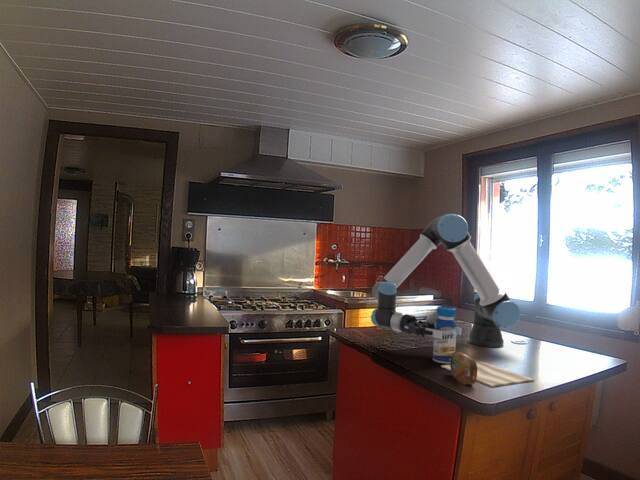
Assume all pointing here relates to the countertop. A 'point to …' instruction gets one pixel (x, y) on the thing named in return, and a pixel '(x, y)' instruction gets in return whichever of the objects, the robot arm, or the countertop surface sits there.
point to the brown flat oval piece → (463, 368)
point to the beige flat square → (495, 375)
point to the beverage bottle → (445, 335)
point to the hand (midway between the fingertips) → (451, 333)
